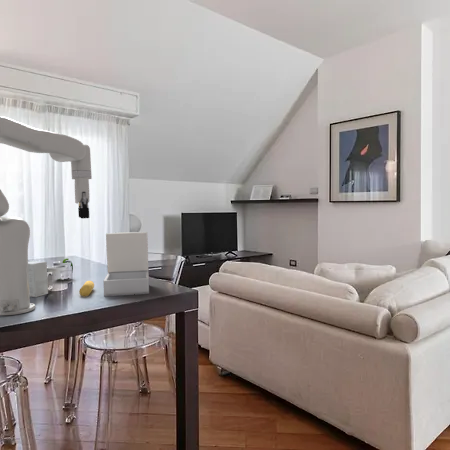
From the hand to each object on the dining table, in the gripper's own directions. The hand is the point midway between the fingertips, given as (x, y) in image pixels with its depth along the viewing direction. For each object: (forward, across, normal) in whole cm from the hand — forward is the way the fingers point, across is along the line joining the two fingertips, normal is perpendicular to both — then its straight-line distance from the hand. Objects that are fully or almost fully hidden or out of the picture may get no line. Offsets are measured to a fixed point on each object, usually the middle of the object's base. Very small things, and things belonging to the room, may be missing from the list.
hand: (83, 217), depth 158 cm
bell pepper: (+31, -31, -8) cm, 44 cm away
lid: (+16, +1, +17) cm, 23 cm away
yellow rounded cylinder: (+30, +4, -1) cm, 31 cm away
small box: (+30, -2, -20) cm, 36 cm away
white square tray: (+30, +8, +15) cm, 35 cm away
